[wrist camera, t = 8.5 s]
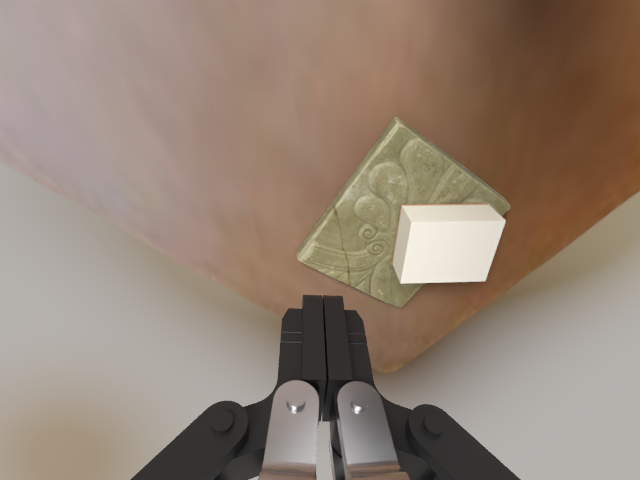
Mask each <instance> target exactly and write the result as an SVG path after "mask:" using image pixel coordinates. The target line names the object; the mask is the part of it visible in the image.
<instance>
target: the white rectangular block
mask: <svg viewBox="0 0 640 480" xmlns="http://www.w3.org/2000/svg"><path fill="white" fill-rule="evenodd" d="M505 222H506V220H505V219H504V218H503V217H501V216H500V215H499V214H498V213H497V212H496V211H495V210H494V209H493V208H492V207H491V206H490V205H489V204H414V205H401V209H400V215H399V222H398V228H397V234H396V241H395V247H394V253H393V260H392V264H393V267H394V269H395V272H396V274H397V277H398V279H399V281H400V284H406V283H443V282H479V281H486V278H487V275H488V272H489V269H490V266H491V263H492V260H493V257H494V254H495V251H496V248H497V245H498V243H499V240H500V237H501V234H502V231H503V228H504V225H505Z"/></svg>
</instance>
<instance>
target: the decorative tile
mask: <svg viewBox="0 0 640 480" xmlns="http://www.w3.org/2000/svg"><path fill="white" fill-rule="evenodd" d="M414 204H489V205H490V206H491V207H492V208H493V209H494V210H495V211H496V212H497V213H498V214H499V215H500V216H501V217H502V216H503V214H504V213H505V212H506V211H508V210H509V209H510V205H509V203H508V202H507V200H506V199H505V198H504V197H503V196H502V195H500V194H499V193H498V192H497V191H495V190H494V189H493V188H492V187H490V186H489V185H488V184H486V183H485V182H484V181H483V180H481V179H480V178H479V177H477V176H476V175H475V174H474V173H472V172H471V171H470V170H468V169H467V168H466V167H465V166H463V165H462V164H460V163H459V162H458V161H456V160H455V159H453V158H452V157H451V156H449V155H448V154H447V153H445V152H444V151H443V150H441V149H440V148H439V147H437V146H436V145H435V144H433V143H432V142H431V141H429V140H428V139H427V138H425V137H424V136H422V135H421V134H420V133H418V132H417V131H416V130H414V129H413V128H411V127H410V126H409V125H407V124H406V123H405V122H403V121H402V120H401V119H399V118H397V117H395V118H394V119H393V120H392V121H391V122H390V124H389V125H388V127H387V128H386V129H385V131H384V132H383V133H382V135H381V136H380V137H379V139H378V140H377V141H376V143H375V144H374V146H373V147H372V148H371V150H370V151H369V152H368V154H367V155H366V157H365V158H364V159H363V161H362V162H361V163H360V165H359V166H358V167H357V169H356V170H355V172H354V173H353V174H352V176H351V177H350V178H349V180H348V181H347V183H346V184H345V185H344V187H343V188H342V189H341V191H340V192H339V194H338V195H337V196H336V198H335V199H334V200H333V202H332V203H331V204H330V206H329V207H328V209H327V210H326V211H325V213H324V214H323V215H322V217H321V218H320V219H319V221H318V222H317V223H316V225H315V226H314V228H313V229H312V230H311V232H310V233H309V234H308V236H307V237H306V239H305V240H304V241H303V243H302V244H301V246H300V247H299V248H298V250H297V252H296V256H297V259H298V260H299V261H300V262H302V263H304V264H306V265H308V266H310V267H312V268H314V269H316V270H318V271H320V272H322V273H324V274H326V275H328V276H330V277H332V278H335V279H337V280H339V281H341V282H343V283H346V284H348V285H350V286H352V287H354V288H356V289H358V290H360V291H363V292H365V293H367V294H369V295H371V296H373V297H375V298H377V299H379V300H381V301H384V302H386V303H389V304H392V305H394V306H397V307H399V308H401V307H402V306H403V305H404V304H405V303H406V302H407V301H408V300H409V299H410V298H411V297H412V295H413V294H414V293H415V292H416V291H417V290H419V289H420V288H421V287H422V286H423V285H424V284H425V283H406V284H400V281H399V279H398V277H397V274H396V272H395V269H394V267H393V264H392V260H393V253H394V247H395V241H396V234H397V228H398V222H399V215H400V209H401V205H414Z"/></svg>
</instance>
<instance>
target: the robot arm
mask: <svg viewBox="0 0 640 480" xmlns="http://www.w3.org/2000/svg"><path fill="white" fill-rule="evenodd" d="M321 415H322V421H330V441H329V450H330V458H331V467H332V474H333V480H520V479H519V478H518V477H517V476H516V475H515V474H513V473H512V472H511V471H510V470H509V469H508V468H507V467H506V466H504V465H503V464H502V463H501V462H500V461H499V460H498V459H497V458H496V457H495V456H494V455H492V454H491V453H490V452H489V451H488V450H487V449H486V448H485V447H483V446H482V445H481V444H480V443H479V442H478V441H477V440H476V439H475V438H474V437H472V436H471V435H470V434H469V433H468V432H467V431H466V430H465V429H464V428H462V427H461V426H460V425H459V424H458V423H457V422H456V421H455V420H454V419H452V418H451V417H450V416H449V415H448V414H447V413H446V412H445V411H443V410H442V409H440V408H438V407H436V406H433V405H428V404H423V405H419V406H417V407H416V408H414V409H413V410H411V409H408V408H405V407H402V406H399V405H396V404H394V403H391V402H390V401H388V400H386V399H385V398H384V397H383V396H382V395H381V394H380V393H379V392H378V390H377V389H376V387H375V384H374V381H373V375H372V370H371V364H370V358H369V352H368V347H367V341H366V335H365V330H364V324H363V320H362V319H361V317H360V316H359V314H358V313H357V312H356V310H344V304H343V297H342V296H324V295H323V299H322V296H321V295H303V301H302V309H291V308H289V309H288V310H287V312H286V313H285V315H284V317H283V318H282V329H281V343H280V356H279V369H278V380H277V385H276V387H275V389H274V390H273V392H272V393H271V394H270V395H269V396H268V397H267V398H265V399H264V400H262V401H260V402H257V403H254V404H251V405H248V406H245V407H242V406H241V405H240V404H238V403H236V402H232V401H221V402H218V403H215V404H213V405H212V406H210V407H209V408H208V409H206V410H205V411H204V412H203V413H202V414H201V415H200V416H199V417H198V418H197V419H196V420H194V422H192V423H191V424H190V425H189V426H188V427H187V428H186V429H185V430H184V431H183V432H181V433H180V434H179V435H178V436H177V437H176V438H175V439H174V440H173V441H172V442H171V443H170V444H169V445H167V446H166V447H165V448H164V449H163V450H162V451H161V452H160V453H159V454H158V455H157V456H156V457H155V458H154V459H152V460H151V461H150V462H149V463H148V464H147V465H146V466H145V467H144V468H143V469H142V470H140V471H139V472H138V473H137V474H136V475H135V476H134V477H133V478H132V479H131V480H248V479H251V478H254V477H256V476H259V478H258V480H316V457H317V436H318V424H319V421H321Z"/></svg>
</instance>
